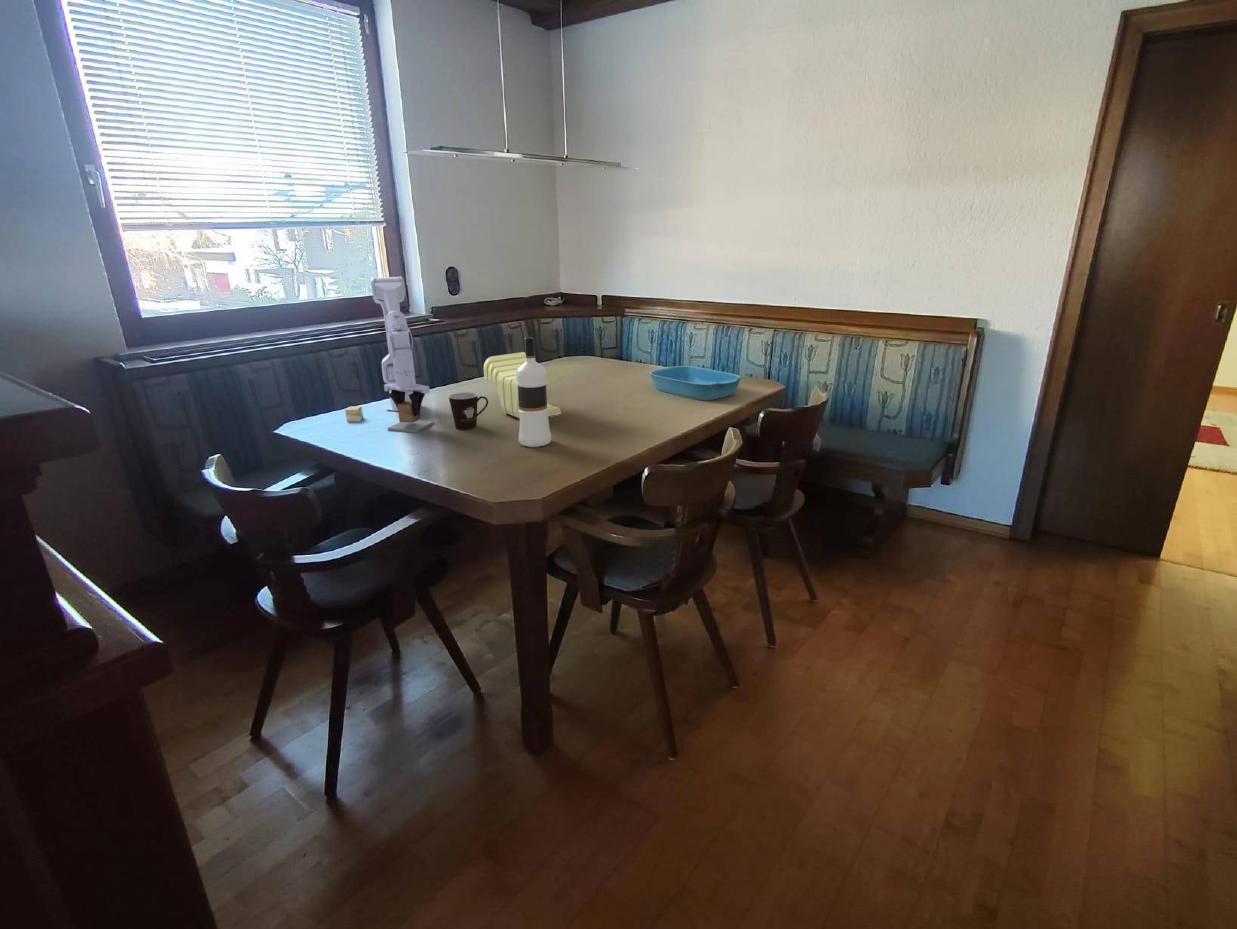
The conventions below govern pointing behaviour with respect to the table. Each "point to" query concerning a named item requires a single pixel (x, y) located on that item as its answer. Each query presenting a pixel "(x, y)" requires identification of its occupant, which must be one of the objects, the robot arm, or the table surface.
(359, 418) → the maple block
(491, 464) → the table surface
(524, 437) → the vodka
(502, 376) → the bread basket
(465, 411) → the coffee mug
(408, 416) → the walnut block
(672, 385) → the casserole dish
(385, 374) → the robot arm
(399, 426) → the slate coaster
